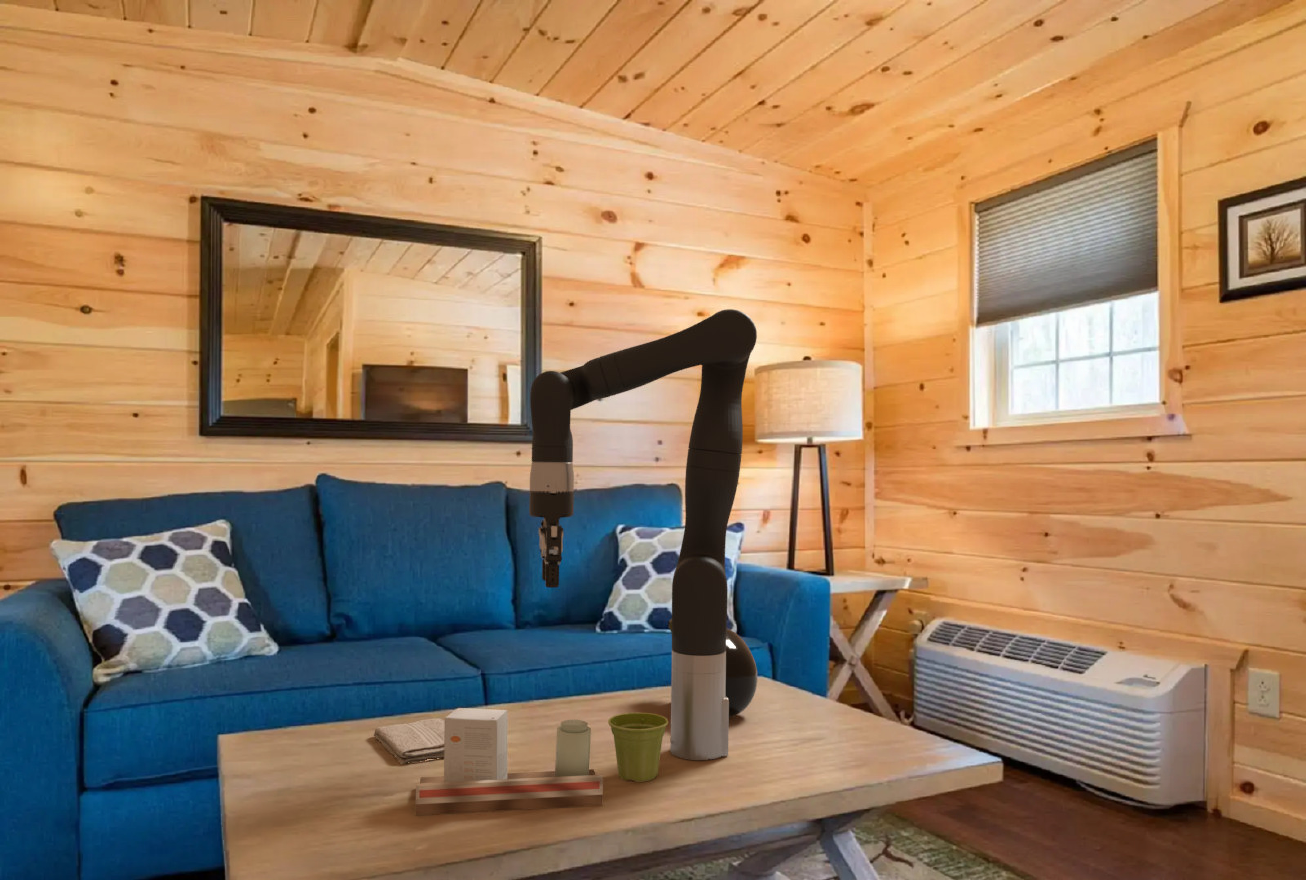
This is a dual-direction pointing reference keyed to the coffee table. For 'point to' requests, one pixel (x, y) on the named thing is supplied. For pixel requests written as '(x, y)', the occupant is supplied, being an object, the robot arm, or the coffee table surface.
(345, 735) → the coffee table surface
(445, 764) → the small box
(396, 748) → the washcloth
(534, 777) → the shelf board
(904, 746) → the coffee table surface
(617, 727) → the plant pot
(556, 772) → the sage jar
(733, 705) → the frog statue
